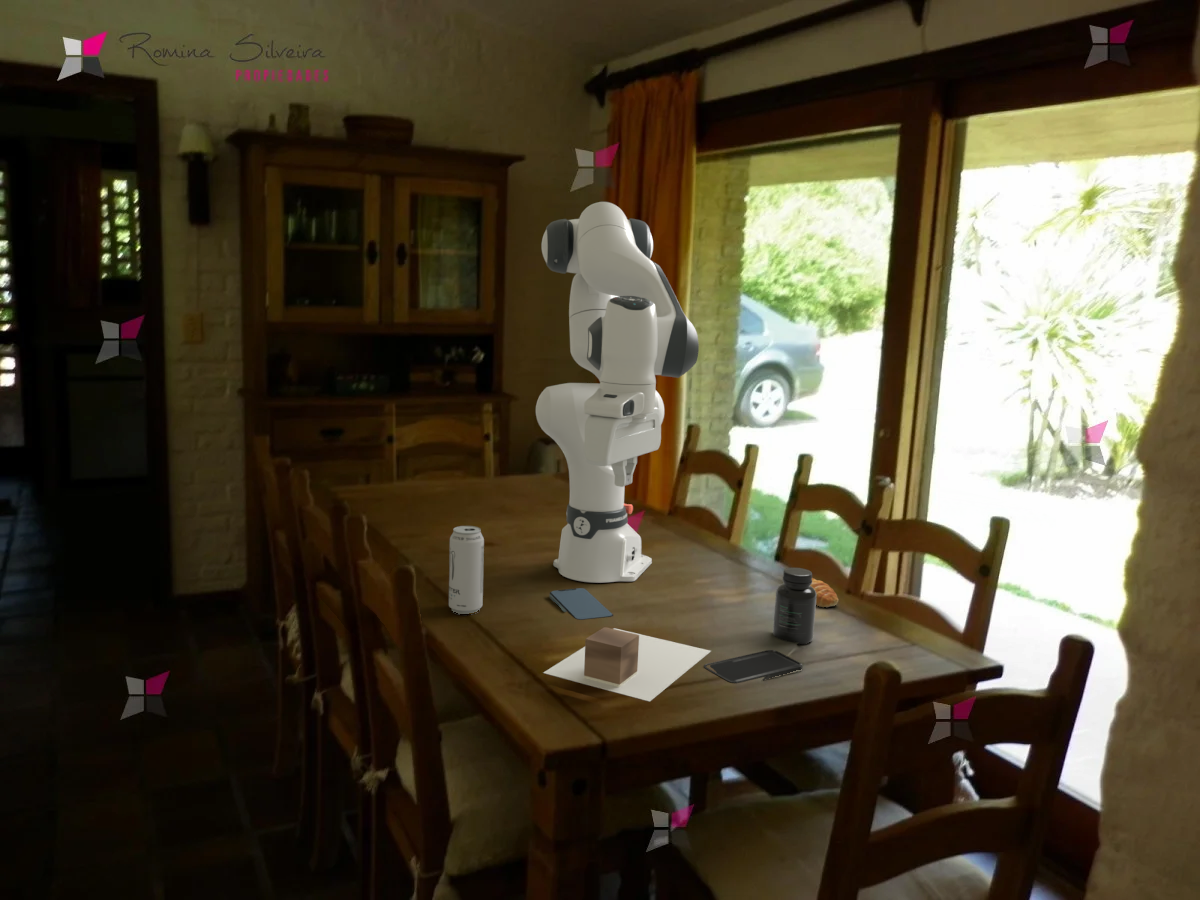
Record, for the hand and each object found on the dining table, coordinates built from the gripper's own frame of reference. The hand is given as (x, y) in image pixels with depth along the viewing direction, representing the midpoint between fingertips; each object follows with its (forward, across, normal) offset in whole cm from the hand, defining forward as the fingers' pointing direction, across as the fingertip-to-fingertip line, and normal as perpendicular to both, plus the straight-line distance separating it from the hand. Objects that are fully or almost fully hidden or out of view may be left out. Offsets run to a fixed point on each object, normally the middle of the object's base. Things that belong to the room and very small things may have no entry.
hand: (623, 485), depth 159 cm
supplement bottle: (+27, -20, +24) cm, 41 cm away
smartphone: (+28, -12, -14) cm, 33 cm away
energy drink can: (+27, +1, -30) cm, 41 cm away
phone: (+28, -3, +23) cm, 36 cm away
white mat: (+27, +6, +6) cm, 28 cm away
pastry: (+28, -43, +21) cm, 55 cm away
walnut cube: (+20, +13, +6) cm, 25 cm away
